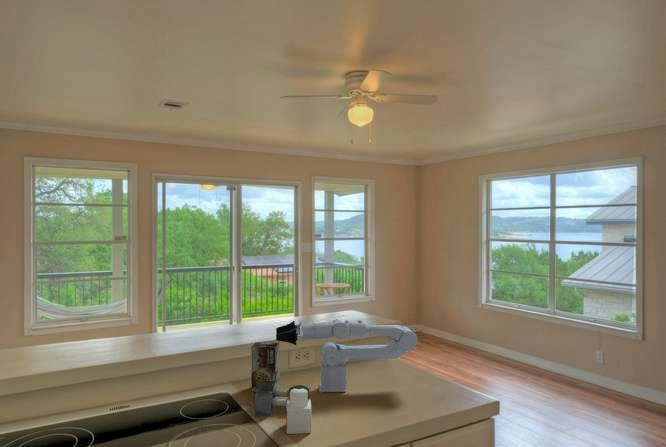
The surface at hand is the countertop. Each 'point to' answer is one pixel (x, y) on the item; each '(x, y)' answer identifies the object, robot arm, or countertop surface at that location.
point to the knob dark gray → (281, 393)
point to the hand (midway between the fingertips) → (276, 334)
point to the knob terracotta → (279, 402)
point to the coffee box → (264, 363)
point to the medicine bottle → (298, 411)
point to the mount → (265, 399)
